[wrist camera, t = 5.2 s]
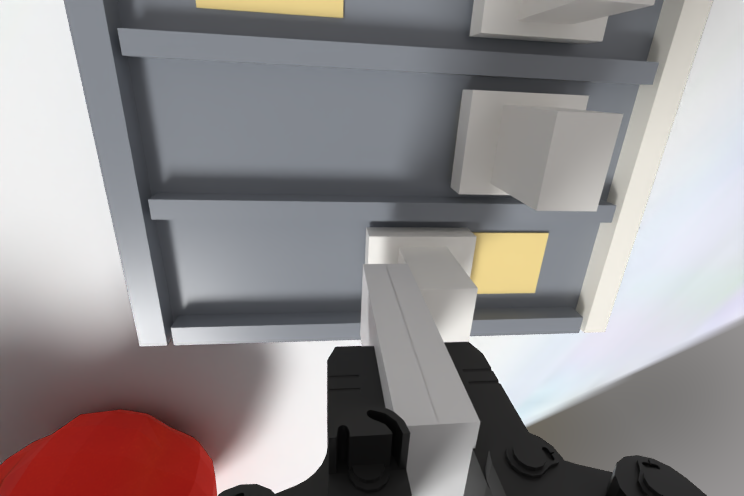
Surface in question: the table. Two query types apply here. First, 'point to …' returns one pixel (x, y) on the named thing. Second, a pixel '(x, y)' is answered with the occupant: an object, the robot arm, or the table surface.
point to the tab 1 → (433, 270)
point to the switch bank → (352, 157)
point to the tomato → (110, 460)
